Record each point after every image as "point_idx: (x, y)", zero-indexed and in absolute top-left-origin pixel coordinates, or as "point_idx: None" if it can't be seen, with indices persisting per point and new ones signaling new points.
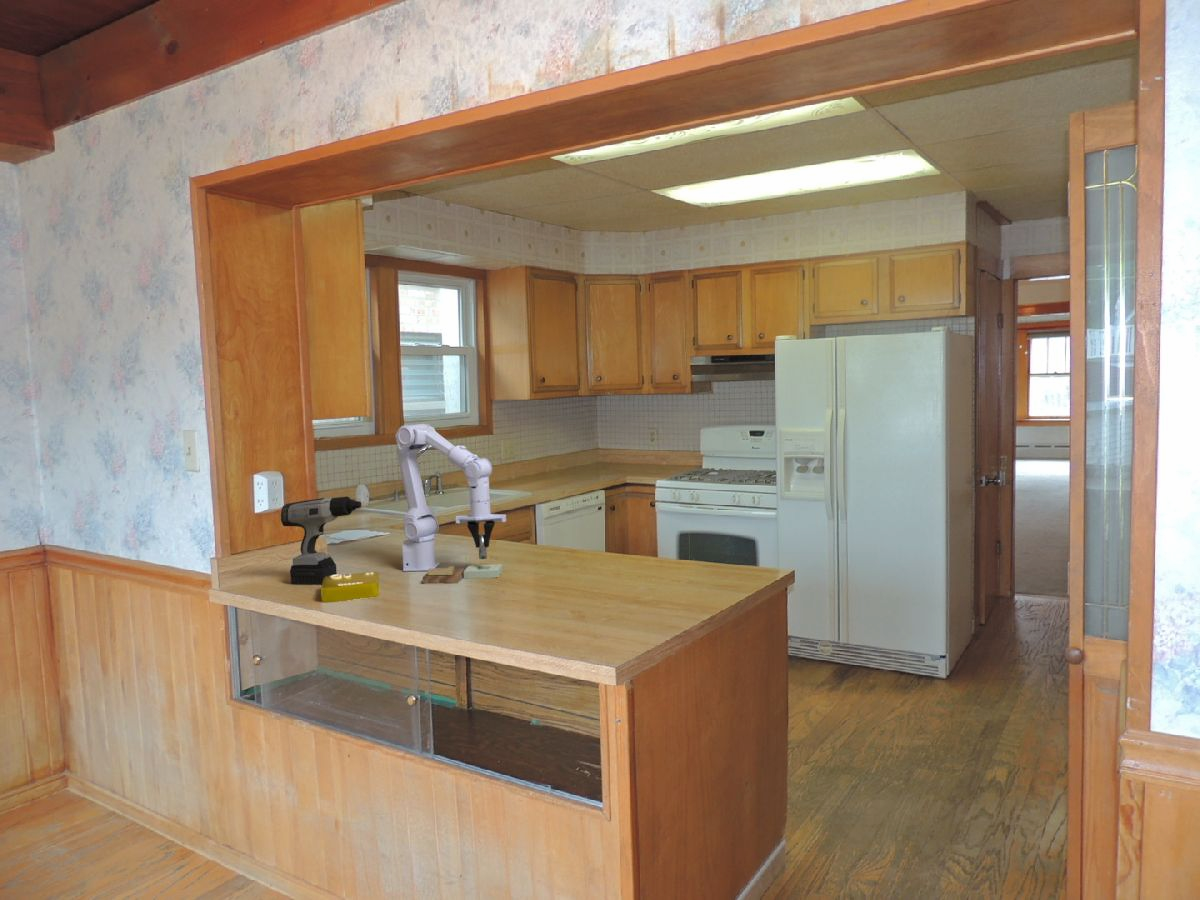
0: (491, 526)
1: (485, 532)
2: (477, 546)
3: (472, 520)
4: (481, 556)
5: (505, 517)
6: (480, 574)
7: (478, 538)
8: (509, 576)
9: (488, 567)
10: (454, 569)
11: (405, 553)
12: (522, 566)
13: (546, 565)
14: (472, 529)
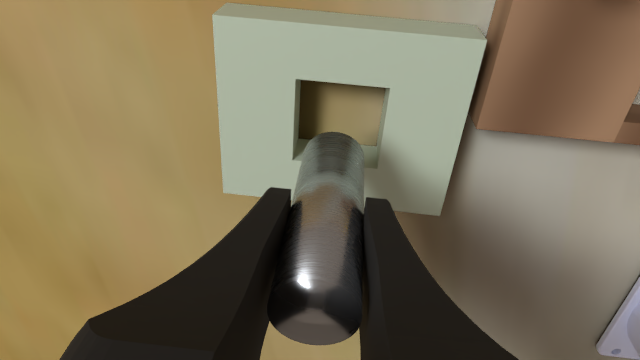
0: (82, 330)
1: (237, 282)
2: (372, 202)
3: None
4: (340, 143)
5: None
6: (353, 21)
7: (357, 268)
8: (156, 23)
9: None
10: (553, 120)
11: None
12: (151, 239)
13: (31, 233)
14: (441, 339)
